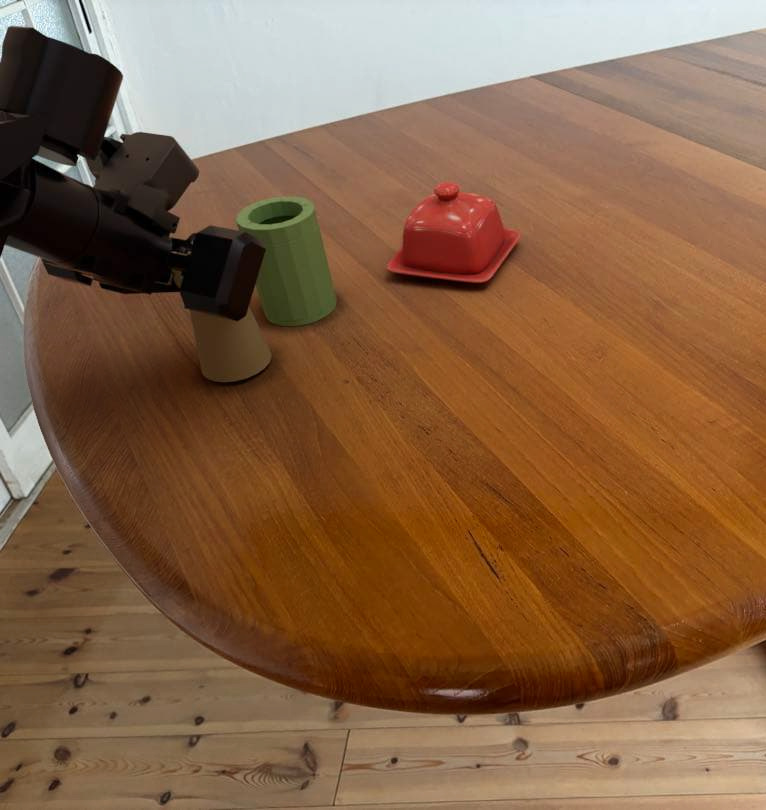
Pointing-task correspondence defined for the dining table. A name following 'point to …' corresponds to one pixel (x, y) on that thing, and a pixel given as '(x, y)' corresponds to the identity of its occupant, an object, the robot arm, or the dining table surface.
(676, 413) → the dining table surface
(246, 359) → the tan peg doll
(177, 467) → the dining table surface
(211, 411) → the dining table surface
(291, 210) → the green cylindrical container
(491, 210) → the butter dish
